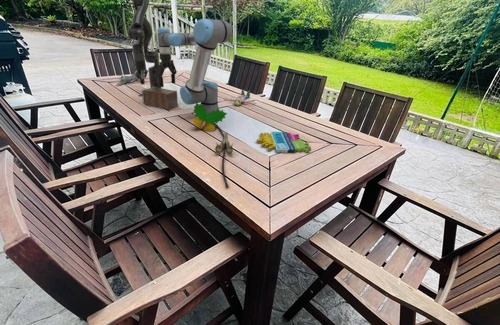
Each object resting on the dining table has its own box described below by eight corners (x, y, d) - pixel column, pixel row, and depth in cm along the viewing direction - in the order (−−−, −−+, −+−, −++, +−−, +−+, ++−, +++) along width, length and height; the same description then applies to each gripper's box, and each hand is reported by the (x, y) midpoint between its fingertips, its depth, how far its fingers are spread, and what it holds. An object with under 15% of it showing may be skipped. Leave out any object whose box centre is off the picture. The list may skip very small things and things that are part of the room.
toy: (261, 91, 228) (254, 99, 202) (261, 99, 231) (253, 108, 205) (231, 87, 233) (220, 95, 207) (230, 95, 236) (219, 104, 210)
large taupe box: (145, 105, 197) (143, 89, 191) (155, 101, 206) (153, 86, 200) (169, 109, 191) (167, 94, 185) (178, 106, 200) (176, 91, 194)
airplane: (112, 78, 264) (110, 67, 259) (144, 76, 278) (143, 66, 272) (114, 87, 236) (112, 76, 231) (151, 85, 249) (149, 74, 244)
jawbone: (234, 135, 144) (233, 125, 135) (233, 160, 138) (232, 151, 129) (217, 135, 144) (216, 125, 135) (216, 160, 138) (214, 150, 129)
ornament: (218, 133, 171) (224, 110, 169) (221, 134, 163) (227, 111, 161) (186, 125, 162) (192, 101, 160) (189, 126, 155) (195, 101, 153)
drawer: (137, 102, 199) (135, 89, 195) (146, 99, 207) (144, 86, 203) (165, 107, 192) (163, 94, 187) (173, 104, 200) (172, 91, 195)
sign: (313, 150, 142) (258, 149, 139) (312, 153, 143) (258, 152, 140) (301, 132, 164) (254, 130, 161) (301, 134, 165) (254, 133, 162)
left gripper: (141, 58, 194) (144, 81, 203) (128, 60, 183) (132, 85, 192) (149, 59, 192) (152, 83, 201) (136, 61, 181) (140, 86, 190)
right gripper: (171, 51, 189) (173, 81, 200) (148, 54, 169) (151, 87, 179) (180, 52, 187) (182, 82, 198) (157, 55, 167) (161, 89, 177)
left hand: (142, 84), depth 196 cm, fingers closed
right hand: (167, 85), depth 188 cm, fingers open, 13 cm apart
